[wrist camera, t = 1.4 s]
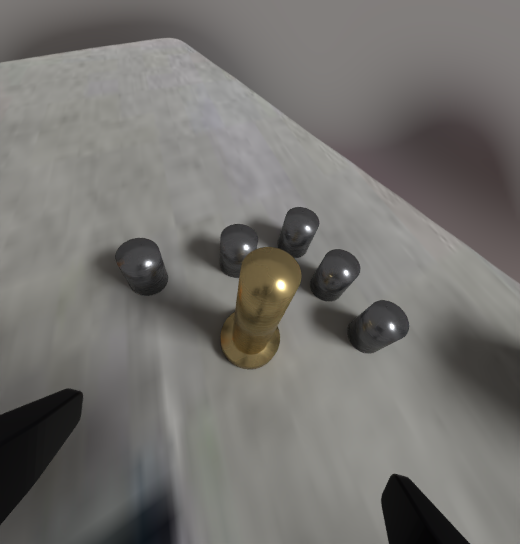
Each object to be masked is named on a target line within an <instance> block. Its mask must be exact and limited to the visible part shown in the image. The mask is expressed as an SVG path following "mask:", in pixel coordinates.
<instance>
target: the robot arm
mask: <svg viewBox="0 0 520 544" xmlns="http://www.w3.org/2000/svg"><path fill="white" fill-rule="evenodd" d="M82 402H83V393H82V392H81V391H78V390H74V389H64V390H62V391H59V392H57V393H54V394H52V395H49V396H47V397H44V398H42V399H39V400H37V401H34V402H32V403H29V404H27V405H24V406H21V407H19V408H16V409H14V410H11V411H9V412H6V413H4V414H1V415H0V525H1V523H2V522H3V521H4V520H5V519H6V517H7V516H8V515H9V514H10V513H11V512H12V510H13V509H14V508H15V507H16V506H17V504H18V503H19V502H20V501H21V500H22V498H23V497H24V496H25V495H26V494H27V492H28V491H29V490H30V489H31V487H32V486H33V485H34V484H35V482H36V481H37V480H38V478H39V477H40V476H41V474H42V473H43V472H44V470H45V469H46V467H47V466H48V465H49V463H50V462H51V460H52V459H53V458H54V456H55V455H56V453H57V452H58V451H59V449H60V448H61V446H62V445H63V444H64V442H65V441H66V439H67V438H68V437H69V435H70V434H71V432H72V431H73V430H74V428H75V427H76V425H77V424H78V422H79V420H80V417H81V411H82ZM381 504H382V510H383V515H384V520H385V526H386V531H387V536H388V541H389V544H470V543H469V542H468V541H467V540H466V539H465V538H464V537H463V536H462V535H461V534H460V532H459V531H458V530H457V529H456V528H455V527H454V526H453V525H452V524H451V523H450V522H449V521H448V520H447V518H446V517H445V516H444V515H443V514H442V513H441V512H440V511H439V510H438V509H437V508H436V507H435V506H434V504H433V503H432V502H431V501H430V500H429V499H428V498H427V497H426V496H425V495H424V494H423V493H422V492H421V490H420V489H419V488H418V487H417V486H416V485H415V484H414V483H413V482H412V481H411V480H410V479H409V478H408V477H405V476H402V475H398V474H392V475H391V476H390V478H389V480H388V483H387V485H386V487H385V489H384V491H383V493H382V498H381Z"/></svg>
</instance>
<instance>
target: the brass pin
mask: <svg viewBox="0 0 520 544" xmlns="http://www.w3.org/2000/svg"><path fill="white" fill-rule="evenodd" d="M300 283H301V270H300V267H299V265H298V263H297V261H296V260H295V259H294V258H293V257H292V256H291V255H290V254H288V253H287V252H285V251H283V250H281V249H278V248H273V247H263V248H258V249H256V250H253V251H252V252H250V253H249V254H248V255H247V256H246V257H245V258H244V260H243V262H242V265H241V270H240V278H239V285H238V293H237V301H236V308H235V312H234V313H233V314H231V315H230V316H229V317H228V318H227V320H226V321H225V323H224V325H223V327H222V330H221V347H222V350H223V353H224V355H225V356H226V358H227V359H228V360H229V361H230V362H231V363H232V364H234V365H235V366H237V367H240V368H243V369H256V368H260V367H262V366H264V365H265V364H267V363H268V362H269V361H270V360H271V359H272V358H273V356H274V355H275V353H276V352H277V350H278V347H279V343H280V333H279V329H278V324H279V322H280V320H281V318H282V317H283V315H284V313H285V311H286V309H287V307H288V306H289V304H290V302H291V300H292V298H293V296H294V295H295V293H296V291H297V289H298V287H299V285H300Z"/></svg>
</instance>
